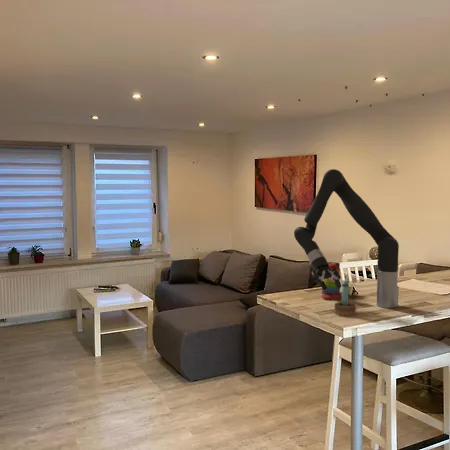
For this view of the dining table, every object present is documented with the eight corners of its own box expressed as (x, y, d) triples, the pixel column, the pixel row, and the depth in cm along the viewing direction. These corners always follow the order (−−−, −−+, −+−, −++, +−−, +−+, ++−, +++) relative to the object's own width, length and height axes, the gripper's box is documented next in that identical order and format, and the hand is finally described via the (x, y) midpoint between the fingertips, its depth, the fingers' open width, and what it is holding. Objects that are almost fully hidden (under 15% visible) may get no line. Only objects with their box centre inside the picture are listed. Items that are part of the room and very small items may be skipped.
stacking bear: (325, 300, 239) (326, 265, 238) (317, 295, 249) (318, 262, 248) (345, 299, 242) (346, 264, 240) (336, 294, 251) (337, 261, 250)
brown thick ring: (345, 309, 222) (345, 301, 222) (359, 314, 214) (359, 305, 214) (330, 312, 218) (330, 303, 218) (344, 317, 210) (344, 308, 210)
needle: (345, 312, 218) (345, 279, 217) (349, 313, 216) (350, 281, 214) (340, 312, 217) (340, 280, 215) (344, 314, 214) (345, 281, 213)
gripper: (309, 257, 225) (324, 285, 216) (332, 255, 232) (348, 282, 223) (302, 266, 231) (317, 294, 222) (325, 264, 237) (340, 291, 228)
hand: (332, 288), depth 222 cm, fingers open, 8 cm apart
